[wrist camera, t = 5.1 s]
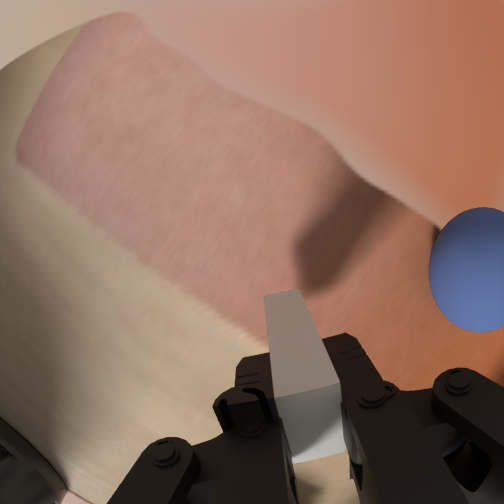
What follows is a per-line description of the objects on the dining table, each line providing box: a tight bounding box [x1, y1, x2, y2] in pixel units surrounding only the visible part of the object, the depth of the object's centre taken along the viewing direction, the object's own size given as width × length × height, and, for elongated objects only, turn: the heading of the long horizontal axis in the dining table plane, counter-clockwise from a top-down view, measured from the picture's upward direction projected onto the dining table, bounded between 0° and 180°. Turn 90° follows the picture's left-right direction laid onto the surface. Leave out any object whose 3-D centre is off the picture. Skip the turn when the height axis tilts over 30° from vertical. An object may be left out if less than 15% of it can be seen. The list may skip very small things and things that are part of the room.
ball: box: [429, 207, 504, 332], centre depth 11 cm, size 6×6×6 cm
